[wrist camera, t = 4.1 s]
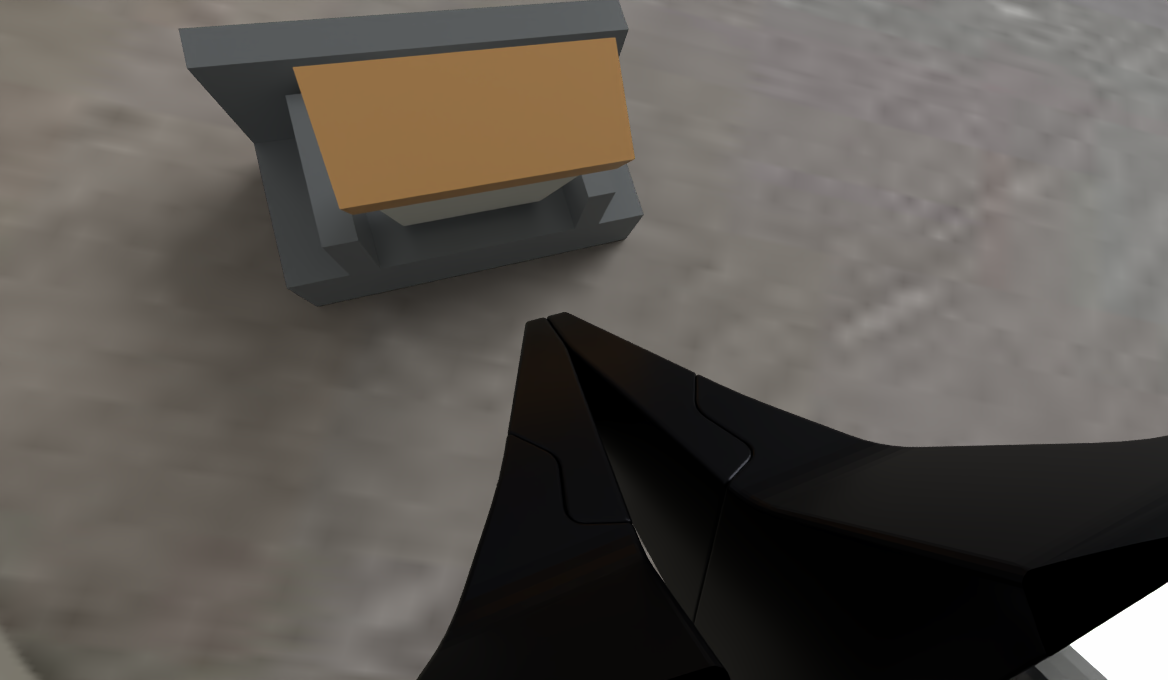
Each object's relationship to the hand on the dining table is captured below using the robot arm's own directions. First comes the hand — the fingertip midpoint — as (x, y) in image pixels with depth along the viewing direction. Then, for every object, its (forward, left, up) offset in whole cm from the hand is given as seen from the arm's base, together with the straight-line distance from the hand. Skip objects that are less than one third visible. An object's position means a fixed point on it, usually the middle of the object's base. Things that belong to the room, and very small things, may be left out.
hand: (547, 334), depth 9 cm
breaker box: (+9, -5, -13) cm, 16 cm away
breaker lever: (+7, -4, -10) cm, 13 cm away
